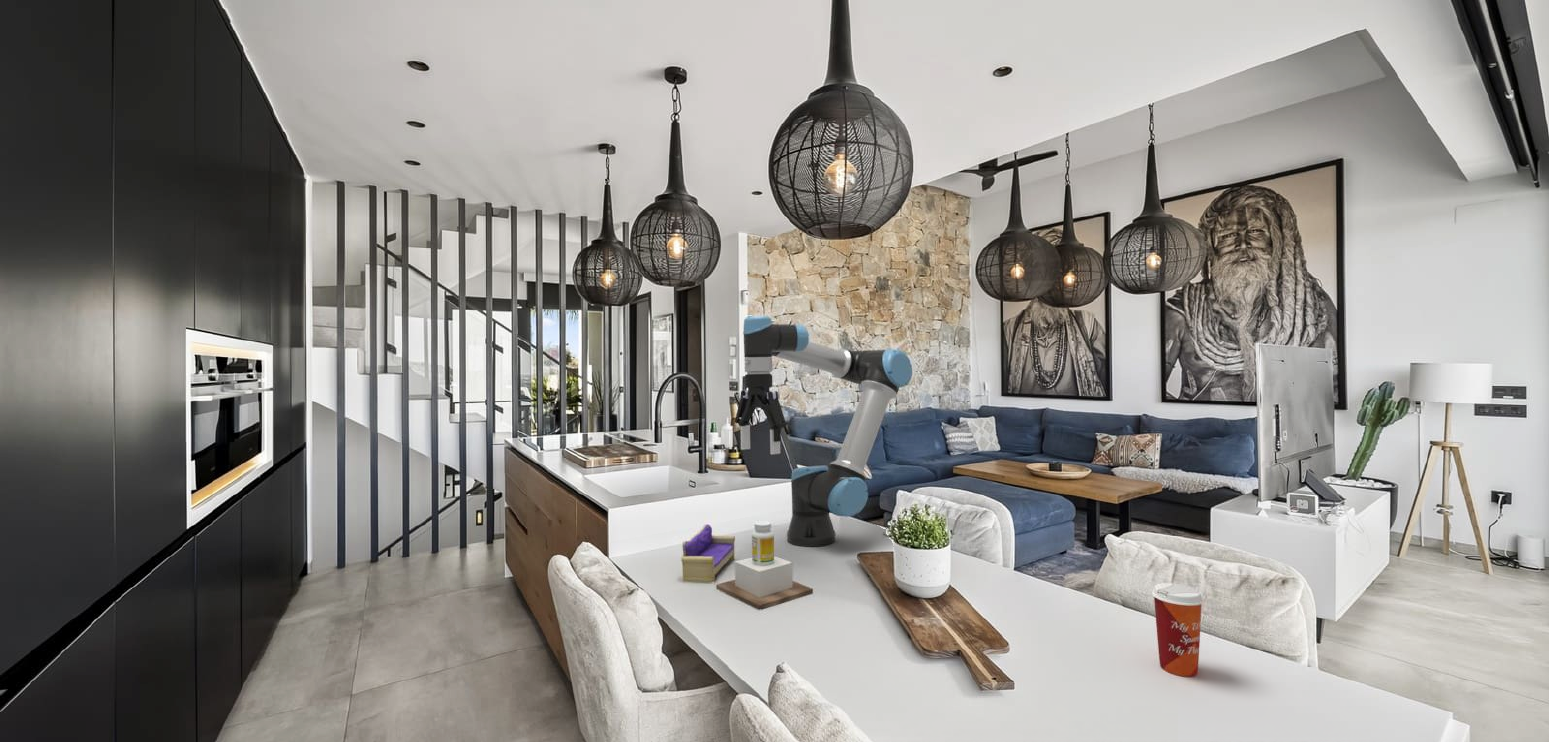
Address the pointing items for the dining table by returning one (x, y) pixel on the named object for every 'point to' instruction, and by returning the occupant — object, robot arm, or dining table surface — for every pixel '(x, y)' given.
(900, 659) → the dining table surface
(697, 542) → the toy sofa
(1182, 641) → the paper cup
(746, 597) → the walnut board
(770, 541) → the supplement bottle
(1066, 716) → the dining table surface
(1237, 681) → the dining table surface
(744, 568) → the white plinth
